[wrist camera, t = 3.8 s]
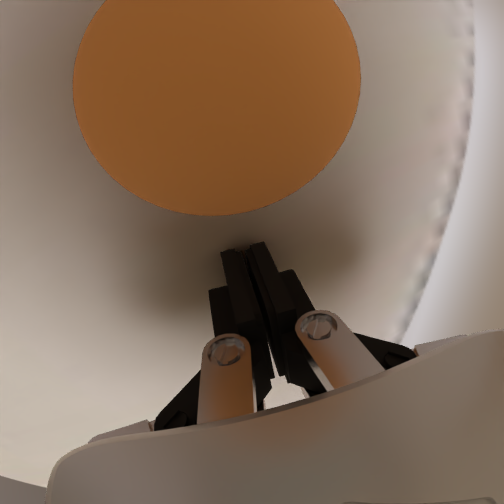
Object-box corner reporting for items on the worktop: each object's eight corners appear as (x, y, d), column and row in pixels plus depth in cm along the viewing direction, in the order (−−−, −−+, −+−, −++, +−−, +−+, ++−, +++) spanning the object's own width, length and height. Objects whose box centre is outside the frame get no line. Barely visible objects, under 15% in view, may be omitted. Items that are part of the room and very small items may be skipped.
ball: (96, 23, 7) (-2, -33, 2) (285, -14, 7) (389, -90, 2) (137, 193, 10) (94, 311, 5) (312, 153, 10) (425, 228, 5)
